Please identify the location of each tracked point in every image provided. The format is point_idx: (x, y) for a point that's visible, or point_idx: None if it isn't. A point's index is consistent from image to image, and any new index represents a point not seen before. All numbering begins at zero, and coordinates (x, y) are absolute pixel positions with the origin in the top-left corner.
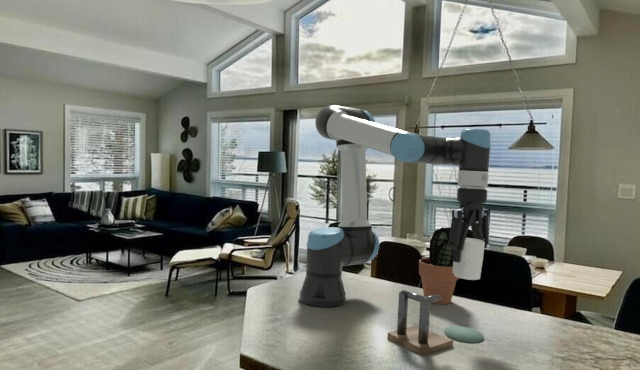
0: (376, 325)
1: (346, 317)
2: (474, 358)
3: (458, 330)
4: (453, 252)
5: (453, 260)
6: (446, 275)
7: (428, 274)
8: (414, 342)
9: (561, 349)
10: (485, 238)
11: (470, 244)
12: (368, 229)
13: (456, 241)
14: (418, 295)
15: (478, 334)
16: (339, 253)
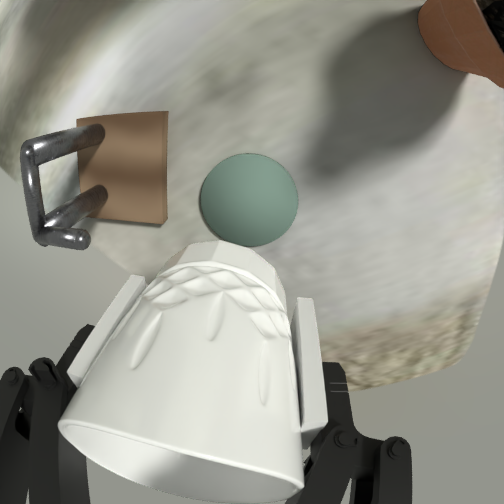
0: (118, 44)
1: None
2: (158, 271)
3: (253, 185)
4: (60, 360)
5: (83, 330)
6: (480, 56)
7: None
8: (87, 184)
9: (335, 341)
10: (350, 499)
11: (116, 461)
12: None
13: (21, 426)
14: (29, 215)
15: (270, 230)
16: None
